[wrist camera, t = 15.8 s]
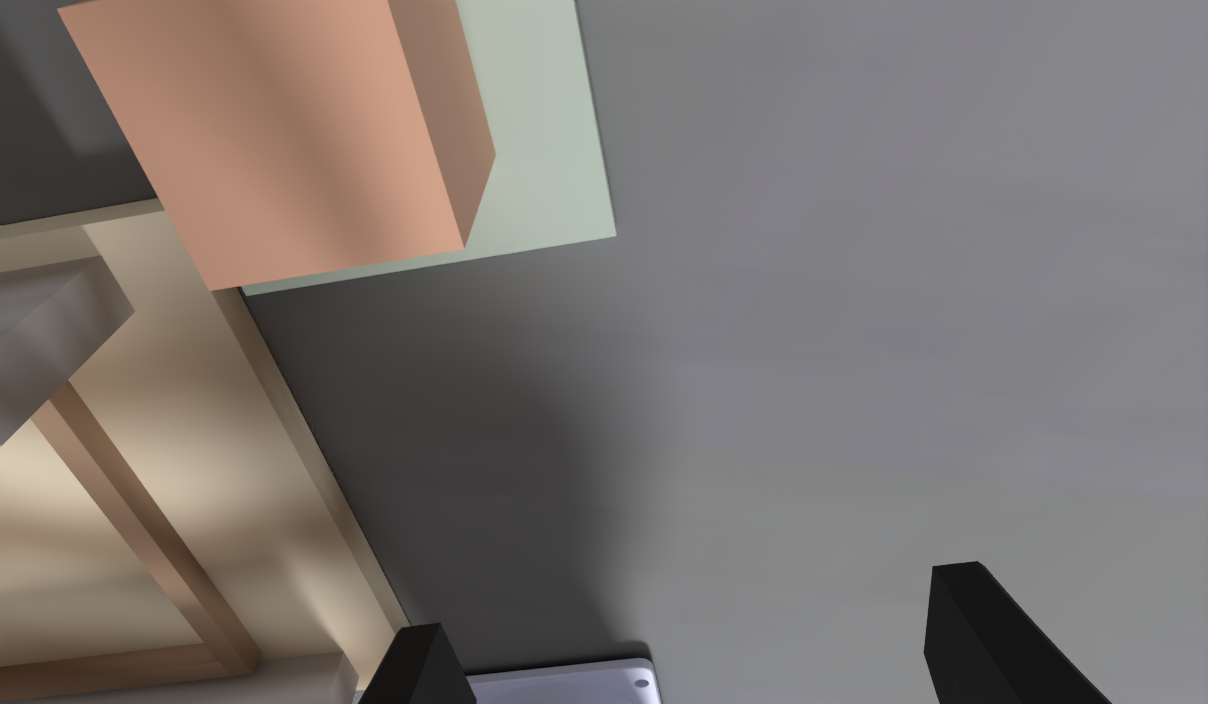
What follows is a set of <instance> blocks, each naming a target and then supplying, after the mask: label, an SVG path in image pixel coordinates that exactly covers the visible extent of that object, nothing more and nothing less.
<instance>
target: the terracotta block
mask: <svg viewBox="0 0 1208 704" xmlns="http://www.w3.org/2000/svg"><path fill="white" fill-rule="evenodd" d="M57 11H58V13H59V15H60V16H61V18H62V20H63V22H64V24H65V26H66V28H67V29H68V31H69V33H70V35H71V37H72V39H73V40H74V42H75V44H76V46H77V48H78V50H79V52H80V53H81V55H82V57H83V59H84V61H85V63H86V65H87V66H88V68H89V70H90V72H91V74H92V76H93V78H94V79H95V81H96V83H97V85H98V87H99V89H100V90H101V92H102V94H103V96H104V98H105V100H106V102H107V103H108V105H109V107H110V109H111V111H112V113H113V115H114V116H115V118H116V120H117V122H118V124H119V126H120V127H121V129H122V131H123V133H124V135H125V137H126V139H127V140H128V142H129V144H130V146H131V148H132V150H133V152H134V153H135V155H136V157H137V159H138V161H139V163H140V164H141V166H142V168H143V170H144V172H145V174H146V176H147V177H148V179H149V181H150V183H151V185H152V187H153V189H154V190H155V192H156V194H157V196H158V198H159V200H160V202H161V203H162V205H163V207H164V209H165V211H166V213H167V214H168V216H169V218H170V220H171V222H172V224H173V226H174V227H175V229H176V231H177V233H178V235H179V237H180V239H181V240H182V242H183V244H184V246H185V248H186V250H187V251H188V253H189V255H190V257H191V259H192V261H193V263H194V264H195V266H196V268H197V270H198V272H199V274H200V276H201V277H202V279H203V281H204V283H205V285H206V287H207V289H208V290H209V291H213V290H219V289H225V288H231V287H237V286H243V285H250V284H256V283H262V282H268V281H274V280H280V279H286V278H292V277H298V276H304V275H310V274H316V273H323V272H329V271H335V270H341V269H347V268H353V267H359V266H365V265H371V264H377V263H383V262H389V261H395V260H402V259H408V258H414V257H420V256H426V255H432V254H438V253H444V252H450V251H456V250H462V249H465V246H466V243H467V240H468V238H469V235H470V232H471V229H472V226H473V223H474V220H475V217H476V214H477V211H478V208H479V205H480V202H481V199H482V196H483V193H484V190H485V187H486V184H487V181H488V178H489V175H490V172H491V169H492V166H493V163H494V160H495V158H496V152H495V148H494V144H493V141H492V137H491V133H490V129H489V126H488V122H487V118H486V114H485V110H484V107H483V103H482V99H481V95H480V91H479V88H478V84H477V80H476V76H475V73H474V69H473V65H472V61H471V57H470V54H469V50H468V46H467V42H466V38H465V35H464V31H463V27H462V23H461V20H460V16H459V12H458V8H457V4H456V1H455V0H85V1H81V2H78V3H75V4H72V5H68V6H65V7H62V8H58V9H57Z"/></svg>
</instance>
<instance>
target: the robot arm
mask: <svg viewBox="0 0 1208 704" xmlns="http://www.w3.org/2000/svg"><path fill="white" fill-rule="evenodd" d="M924 655H925V659H926V662H927V665H928V668H929V671H930V675H931V678H932V681H933V684H934V687H935V691H936V694H937V697H938V700H939V703H940V704H1112V703H1111V702H1110V701H1109V700H1108V699H1107V698H1106V697H1105V696H1104V695H1103V694H1102V693H1101V692H1100V691H1099V690H1098V689H1097V688H1096V687H1095V686H1094V685H1093V684H1092V683H1091V682H1090V681H1089V680H1088V679H1087V678H1086V677H1085V676H1084V675H1083V674H1082V673H1081V672H1080V671H1079V670H1078V669H1077V668H1076V667H1075V666H1074V665H1073V664H1072V663H1071V661H1070V660H1069V659H1068V658H1067V657H1066V656H1065V655H1064V654H1063V653H1062V652H1061V651H1060V650H1059V649H1058V648H1057V647H1056V646H1055V645H1054V643H1053V642H1052V641H1051V640H1050V639H1049V638H1048V637H1047V636H1046V635H1045V634H1044V633H1043V632H1042V630H1041V629H1040V628H1039V627H1038V626H1037V625H1036V624H1035V623H1034V622H1033V621H1032V620H1031V618H1030V617H1029V616H1028V615H1027V614H1026V613H1025V612H1024V611H1023V610H1022V608H1021V607H1020V606H1019V605H1018V604H1017V603H1016V602H1015V601H1014V599H1013V598H1012V597H1011V596H1010V595H1009V594H1008V593H1007V591H1006V590H1005V589H1004V588H1003V587H1002V586H1001V585H1000V583H999V582H998V581H997V580H996V579H995V578H994V577H993V575H992V574H991V573H990V572H989V571H988V569H987V568H986V567H985V566H984V565H982V564H981V563H979V562H978V561H974V562H966V563H957V564H948V565H940V566H933V568H932V578H931V588H930V597H929V607H928V617H927V626H926V636H925V646H924ZM358 704H662V701H661V697H660V693H659V689H658V684H657V680H656V676H655V671H654V667H653V664H652V663H651V662H650V661H649V660H647V659H644V658H632V659H623V660H614V661H605V662H595V663H586V664H577V665H567V666H558V667H549V668H539V669H530V670H521V671H512V672H502V673H493V674H484V675H474V676H465V674H464V672H463V670H462V667H461V665H460V663H459V661H458V659H457V657H456V655H455V653H454V651H453V649H452V646H451V644H450V642H449V640H448V638H447V636H446V634H445V632H444V630H443V628H442V625H441V623H435V624H426V625H418V626H409V627H401V629H400V630H399V631H398V632H397V633H396V635H395V637H394V639H393V641H392V643H391V644H390V646H389V648H388V650H387V652H386V654H385V656H384V657H383V659H382V661H381V663H380V665H379V666H378V668H377V670H376V672H375V674H374V676H373V677H372V679H371V681H370V683H369V685H368V686H367V688H366V690H365V692H364V694H363V695H362V697H361V699H360V701H359V703H358Z"/></svg>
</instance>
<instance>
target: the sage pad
mask: <svg viewBox="0 0 1208 704" xmlns="http://www.w3.org/2000/svg"><path fill="white" fill-rule="evenodd" d="M455 1H456V4H457V8H458V12H459V16H460V20H461V23H462V27H463V31H464V35H465V38H466V42H467V46H468V50H469V54H470V57H471V61H472V65H473V69H474V73H475V76H476V80H477V84H478V88H479V91H480V95H481V99H482V103H483V107H484V110H485V114H486V118H487V122H488V126H489V129H490V133H491V137H492V141H493V144H494V148H495V152H496V158H495V160H494V163H493V166H492V169H491V172H490V175H489V178H488V181H487V184H486V187H485V190H484V193H483V196H482V199H481V202H480V205H479V208H478V211H477V214H476V217H475V220H474V223H473V226H472V229H471V232H470V235H469V238H468V240H467V243H466V246H465V249H462V250H456V251H450V252H444V253H438V254H432V255H426V256H420V257H414V258H408V259H402V260H395V261H389V262H383V263H377V264H371V265H365V266H359V267H353V268H347V269H341V270H335V271H329V272H323V273H316V274H310V275H304V276H298V277H292V278H286V279H280V280H274V281H268V282H262V283H256V284H250V285H243V286H241V287H242V289H243V291H244V293H245V295H246V296H249V295H256V294H262V293H268V292H274V291H280V290H286V289H293V288H299V287H305V286H311V285H317V284H324V283H330V282H336V281H342V280H348V279H354V278H361V277H367V276H373V275H379V274H385V273H391V272H398V271H404V270H410V269H416V268H422V267H428V266H435V265H441V264H447V263H453V262H459V261H466V260H472V259H478V258H484V257H490V256H496V255H503V254H509V253H515V252H521V251H527V250H533V249H540V248H546V247H552V246H558V245H564V244H570V243H577V242H583V241H589V240H595V239H601V238H608V237H614V236H617V234H616V221H615V216H614V210H613V205H612V199H611V194H610V188H609V183H608V177H607V172H606V166H605V161H604V155H603V149H602V144H601V138H600V133H599V127H598V122H597V116H596V111H595V105H594V100H593V94H592V89H591V83H590V78H589V72H588V67H587V61H586V56H585V50H584V45H583V39H582V34H581V28H580V22H579V17H578V11H577V6H576V0H455Z"/></svg>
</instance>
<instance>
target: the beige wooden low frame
mask: <svg viewBox="0 0 1208 704" xmlns="http://www.w3.org/2000/svg"><path fill="white" fill-rule="evenodd" d="M409 626H410V624H409V622H408V620H407V618H406V616H405V614H404V612H403V610H402V608H401V606H400V604H399V602H398V600H397V598H396V596H395V595H394V593H393V591H392V589H391V587H390V585H389V583H388V581H387V579H386V577H385V575H384V573H383V571H382V569H381V567H380V565H379V563H378V561H377V559H376V558H375V556H374V554H373V552H372V550H371V548H370V546H369V544H368V542H367V540H366V538H365V536H364V534H363V532H362V530H361V528H360V526H359V524H358V522H357V521H356V519H355V517H354V515H353V513H352V511H351V509H350V507H349V505H348V503H347V501H346V499H345V497H344V495H343V493H342V491H341V489H340V487H339V485H338V484H337V482H336V480H335V478H334V476H333V474H332V472H331V470H330V468H329V466H328V464H327V462H326V460H325V458H324V456H323V454H322V452H321V450H320V448H319V447H318V445H317V443H316V441H315V439H314V437H313V435H312V433H311V431H310V429H309V427H308V425H307V423H306V421H305V419H304V417H303V415H302V413H301V411H300V410H299V408H298V406H297V404H296V402H295V400H294V398H293V396H292V394H291V392H290V390H289V388H288V386H287V384H286V382H285V380H284V378H283V376H282V374H281V373H280V371H279V369H278V367H277V365H276V363H275V361H274V359H273V357H272V355H271V353H270V351H269V349H268V347H267V345H266V343H265V341H264V339H263V337H262V336H261V334H260V332H259V330H258V328H257V326H256V324H255V322H254V320H253V318H252V316H251V314H250V312H249V310H248V308H247V306H246V304H245V302H244V301H243V299H242V297H241V295H240V293H239V291H238V289H237V287H231V288H225V289H219V290H213V291H209V290H208V289H207V287H206V285H205V283H204V281H203V279H202V277H201V276H200V274H199V272H198V270H197V268H196V266H195V264H194V263H193V261H192V259H191V257H190V255H189V253H188V251H187V250H186V248H185V246H184V244H183V242H182V240H181V239H180V237H179V235H178V233H177V231H176V229H175V227H174V226H173V224H172V222H171V220H170V218H169V216H168V214H167V213H166V211H165V209H164V207H163V205H162V203H161V202H160V200H159V198H155V199H149V200H143V201H138V202H132V203H126V204H121V205H115V206H109V207H104V208H98V209H93V210H87V211H81V212H76V213H70V214H64V215H59V216H53V217H47V218H42V219H36V220H31V221H25V222H19V223H14V224H8V225H2V226H0V704H352V701H353V698H354V694H355V691H357V690H366V688H367V686H368V685H369V683H370V681H371V679H372V677H373V676H374V674H375V672H376V670H377V668H378V666H379V665H380V663H381V661H382V659H383V657H384V656H385V654H386V652H387V650H388V648H389V646H390V644H391V643H392V641H393V639H394V637H395V635H396V633H397V632H398V631H399V630H400V629H401V627H409Z"/></svg>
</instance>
